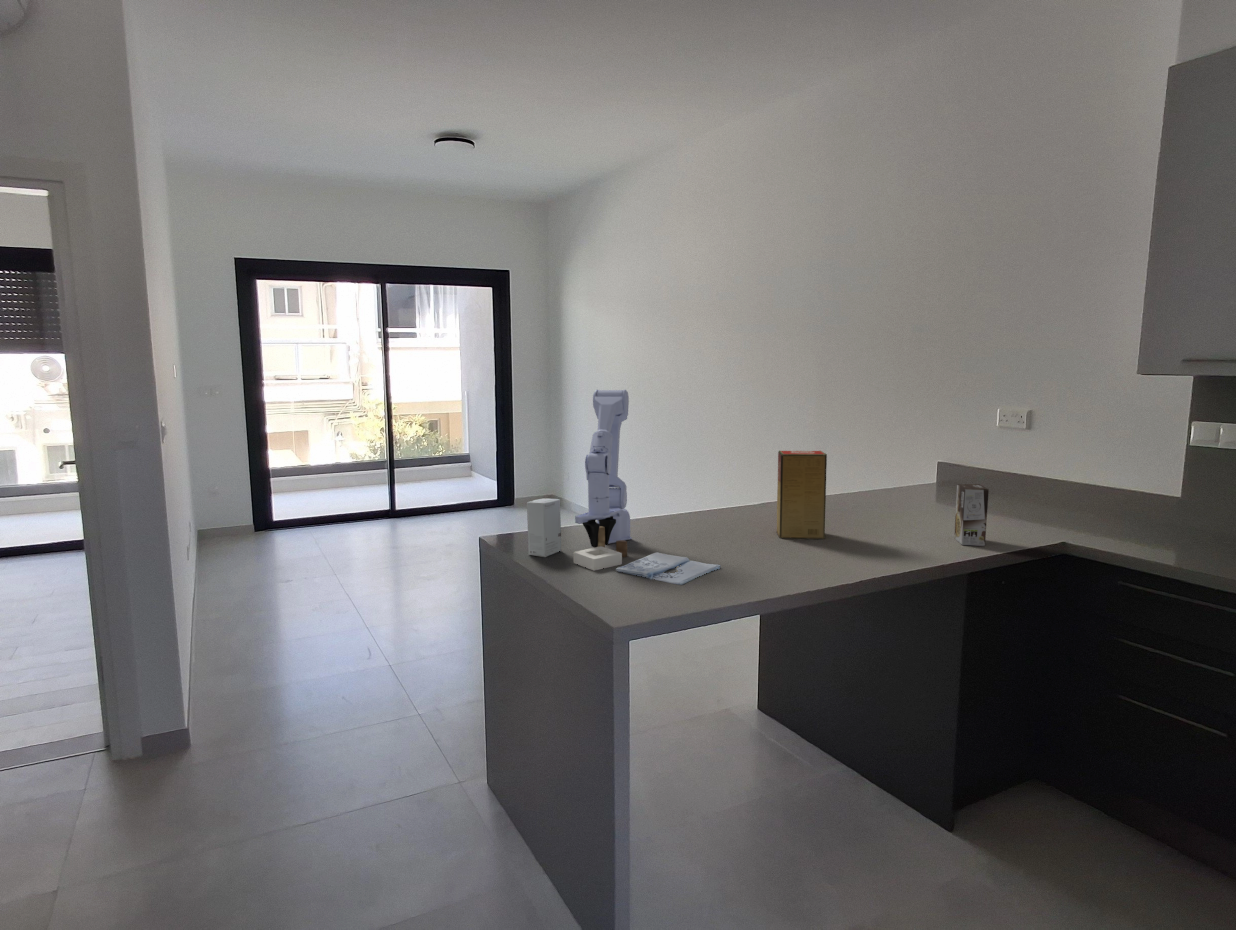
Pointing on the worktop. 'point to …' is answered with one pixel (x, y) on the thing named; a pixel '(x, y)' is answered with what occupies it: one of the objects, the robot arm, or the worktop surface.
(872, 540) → the worktop surface
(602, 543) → the oak dowel
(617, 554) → the socket block
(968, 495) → the coffee box
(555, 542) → the skincare box
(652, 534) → the worktop surface
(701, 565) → the folded cloth
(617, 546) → the walnut dowel
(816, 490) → the food packaging
